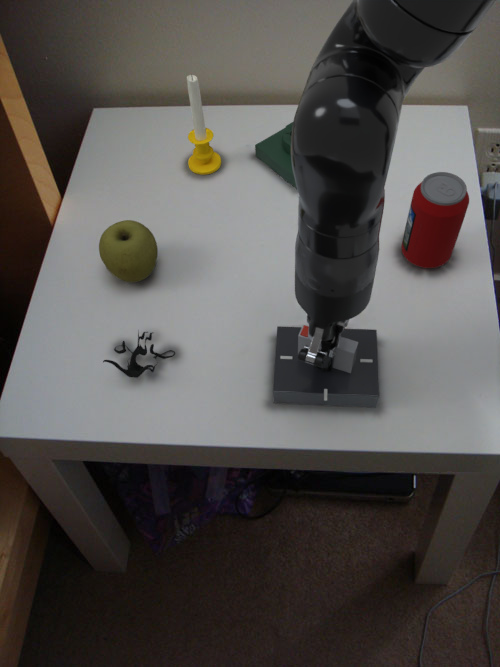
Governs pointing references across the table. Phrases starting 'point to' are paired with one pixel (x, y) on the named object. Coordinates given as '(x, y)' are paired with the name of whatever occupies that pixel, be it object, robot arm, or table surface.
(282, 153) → the button box
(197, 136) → the candle
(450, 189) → the beverage can
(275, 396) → the plate
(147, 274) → the apple
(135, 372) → the creature
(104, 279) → the table surface
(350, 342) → the tap handle
